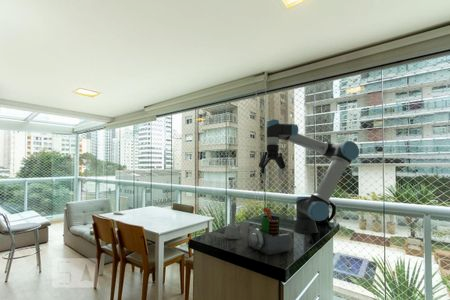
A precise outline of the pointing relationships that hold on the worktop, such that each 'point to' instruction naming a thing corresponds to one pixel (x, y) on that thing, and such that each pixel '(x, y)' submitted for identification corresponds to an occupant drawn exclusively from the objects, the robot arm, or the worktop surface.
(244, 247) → the worktop surface
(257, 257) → the worktop surface
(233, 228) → the engine component
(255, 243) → the flange bracket
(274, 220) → the motor
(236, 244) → the worktop surface
